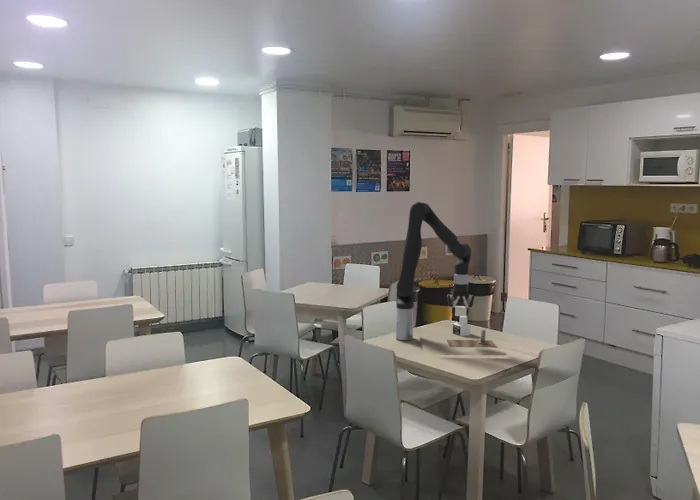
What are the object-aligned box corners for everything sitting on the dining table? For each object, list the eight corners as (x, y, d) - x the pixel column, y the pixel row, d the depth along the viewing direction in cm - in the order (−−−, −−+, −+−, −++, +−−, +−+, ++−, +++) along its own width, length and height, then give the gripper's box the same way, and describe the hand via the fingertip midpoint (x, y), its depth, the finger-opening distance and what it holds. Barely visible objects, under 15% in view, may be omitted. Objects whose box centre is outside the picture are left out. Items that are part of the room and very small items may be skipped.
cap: (455, 315, 287) (455, 308, 287) (453, 313, 293) (454, 305, 292) (466, 316, 287) (466, 308, 287) (464, 313, 292) (464, 306, 292)
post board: (449, 349, 285) (450, 333, 284) (446, 342, 299) (446, 326, 298) (497, 350, 284) (497, 334, 283) (491, 343, 298) (492, 327, 297)
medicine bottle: (452, 335, 313) (452, 314, 312) (462, 334, 316) (463, 313, 315) (460, 338, 307) (460, 317, 305) (470, 337, 310) (471, 316, 308)
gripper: (447, 283, 285) (446, 316, 286) (476, 284, 284) (475, 316, 286) (446, 281, 292) (445, 312, 294) (473, 281, 291) (472, 313, 293)
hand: (460, 314), depth 290 cm, fingers closed on cap, 5 cm apart
